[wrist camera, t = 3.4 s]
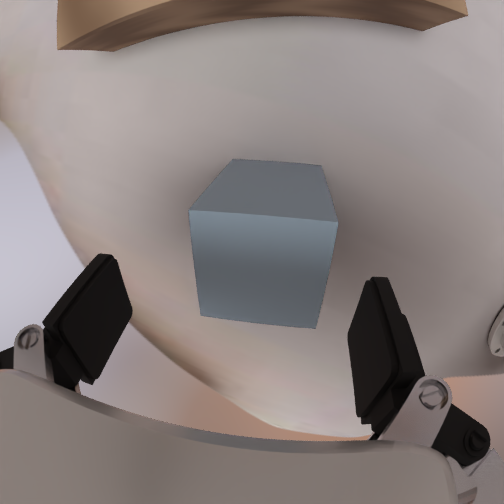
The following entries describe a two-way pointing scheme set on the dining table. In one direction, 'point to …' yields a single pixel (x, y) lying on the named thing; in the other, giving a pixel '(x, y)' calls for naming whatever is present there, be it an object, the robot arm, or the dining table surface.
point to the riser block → (224, 16)
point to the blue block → (264, 243)
